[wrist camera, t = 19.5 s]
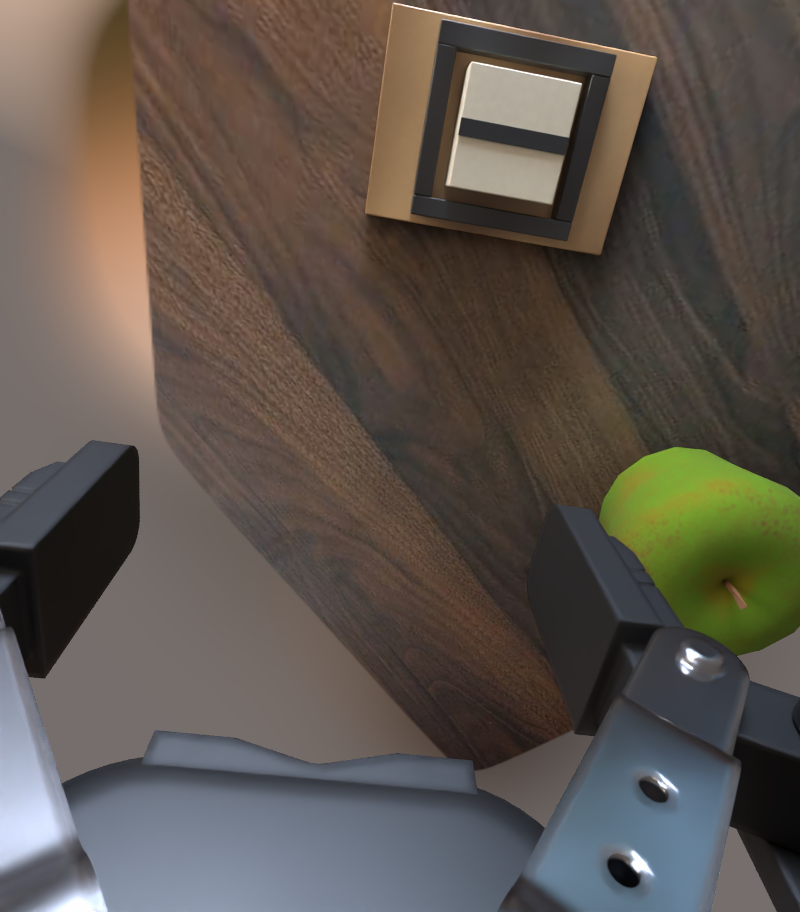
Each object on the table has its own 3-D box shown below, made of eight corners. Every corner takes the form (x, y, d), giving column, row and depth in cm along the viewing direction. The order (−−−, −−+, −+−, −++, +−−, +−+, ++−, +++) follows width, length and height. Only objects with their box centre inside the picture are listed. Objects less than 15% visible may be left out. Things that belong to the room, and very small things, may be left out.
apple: (785, 467, 43) (910, 558, 33) (683, 595, 47) (765, 711, 37) (637, 398, 40) (722, 474, 30) (545, 541, 45) (591, 648, 35)
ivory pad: (444, 185, 34) (448, 186, 31) (465, 69, 32) (471, 60, 29) (541, 203, 34) (553, 205, 32) (568, 90, 32) (583, 83, 30)
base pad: (365, 213, 35) (364, 215, 33) (392, 7, 31) (392, -5, 29) (595, 253, 36) (607, 258, 34) (650, 60, 32) (668, 52, 30)
